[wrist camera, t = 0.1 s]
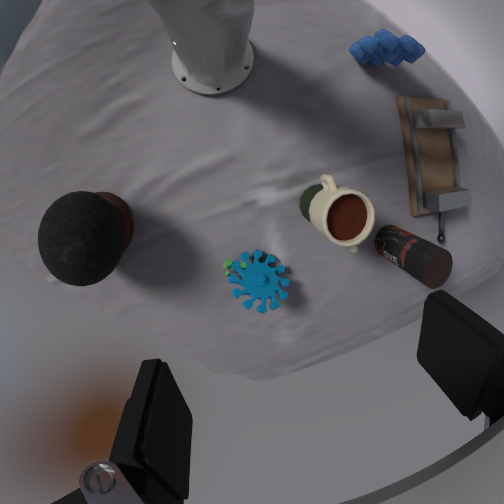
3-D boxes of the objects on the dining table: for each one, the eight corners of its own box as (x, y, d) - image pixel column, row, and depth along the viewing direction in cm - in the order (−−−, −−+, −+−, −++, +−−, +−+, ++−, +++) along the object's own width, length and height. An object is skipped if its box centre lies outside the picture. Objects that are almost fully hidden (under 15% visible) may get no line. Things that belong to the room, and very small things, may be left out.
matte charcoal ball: (151, 205, 42) (118, 225, 28) (124, 275, 45) (90, 319, 31) (84, 173, 40) (32, 181, 25) (63, 243, 42) (15, 274, 28)
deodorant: (369, 242, 48) (417, 273, 34) (389, 218, 47) (442, 240, 33) (386, 262, 49) (433, 296, 35) (405, 239, 48) (457, 265, 34)
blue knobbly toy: (299, 271, 46) (277, 323, 41) (282, 282, 51) (260, 330, 46) (243, 232, 45) (212, 282, 40) (231, 248, 50) (202, 294, 44)
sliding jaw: (421, 190, 44) (439, 194, 39) (452, 186, 45) (470, 189, 40) (422, 245, 48) (438, 254, 43) (452, 237, 48) (469, 244, 43)
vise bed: (395, 96, 40) (416, 91, 34) (444, 100, 41) (465, 97, 34) (410, 214, 47) (431, 222, 41) (455, 205, 47) (476, 212, 41)
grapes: (393, 45, 37) (430, 25, 25) (399, 76, 39) (439, 62, 27) (337, 35, 36) (367, 7, 25) (343, 69, 38) (377, 46, 27)
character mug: (346, 224, 46) (385, 246, 34) (309, 242, 47) (338, 270, 34) (324, 163, 43) (360, 165, 31) (284, 180, 43) (308, 188, 31)
